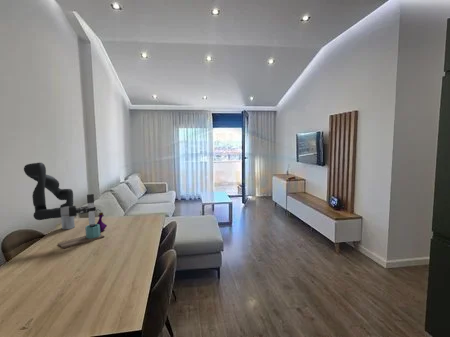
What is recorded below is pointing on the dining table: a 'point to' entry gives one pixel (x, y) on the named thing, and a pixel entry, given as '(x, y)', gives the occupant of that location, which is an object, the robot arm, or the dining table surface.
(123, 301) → the dining table surface
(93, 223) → the grey long forked bar
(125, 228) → the dining table surface
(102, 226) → the perfume bottle
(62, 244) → the walnut board
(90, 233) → the crock
